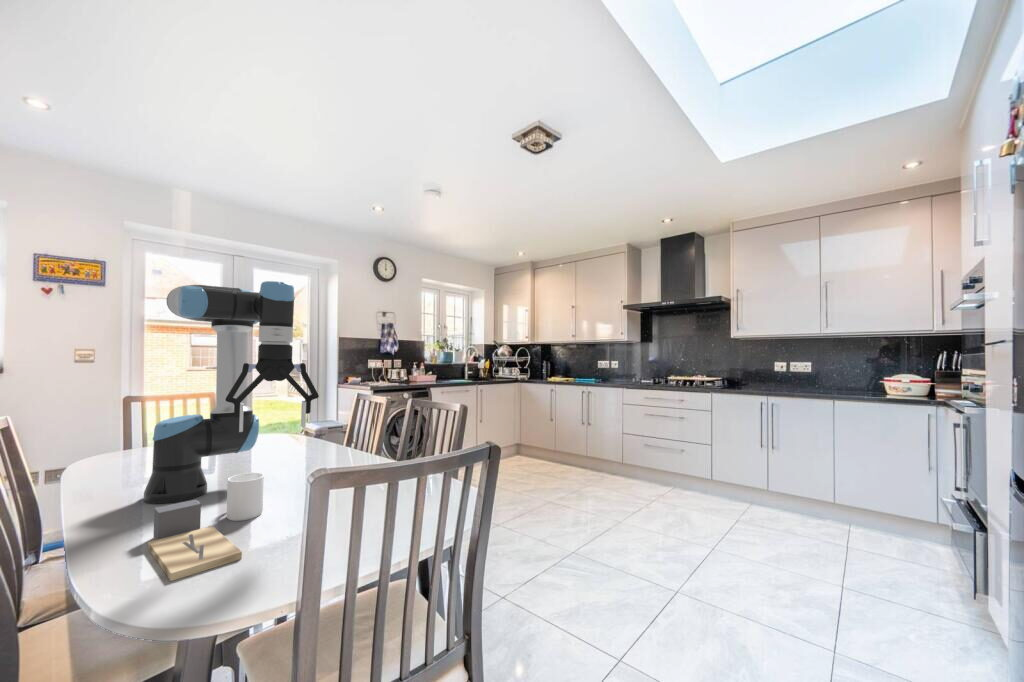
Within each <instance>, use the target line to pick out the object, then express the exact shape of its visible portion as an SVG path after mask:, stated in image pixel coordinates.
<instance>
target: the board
mask: <svg viewBox="0 0 1024 682" xmlns="http://www.w3.org/2000/svg"><path fill="white" fill-rule="evenodd" d="M147 543H148V544H147V545H148V546H147V550H148V551H149V552H150V554H151V555H152V556H153V558H154V559H155V561H156V562H157V564H158V565H159V566H160V568H161V569H162V570H163V572H164V574H165V575H166V576H167V578H168V580H169V581H170V582H174V581H176V580H179V579H183V578H186V577H188V576H192V575H196V574H198V573H201V572H205V571H207V570H211V569H214V568H217V567H220V566H223V565H228V564H230V563H232V562H237V561H239V560H242V556H243V552H242V550H240V549H239V548H238V547H237V546H236V545H235V543H232V541H230V540H229V539H228V538H227V537H226V536H225V535H224V534H222V533H221V532H220V531H219V530H217V528H215V527H214V526H213V525H210V526H206V527H203V528H200V529H198V530H194V531H190V532H186V533H182V534H178V535H174V536H170V537H166V538H162V539H159V540H155V539H154V540H151V541H148V542H147Z"/></svg>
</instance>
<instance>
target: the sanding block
mask: <svg viewBox="0 0 1024 682" xmlns="http://www.w3.org/2000/svg"><path fill="white" fill-rule="evenodd" d="M153 511H154V512H153V513H154V514H153V515H154V516H153V517H154V518H153V540H154V541H155V540H159V539H162V538H166V537H170V536H174V535H178V534H182V533H186V532H190V531H194V530H198V529H201V518H202V517H201V511H202V503H201V502H200V501H198V500H197V499H190V500H185V501H180V502H177V503H172V504H168V505H163V506H157V507H155V508H154V510H153Z"/></svg>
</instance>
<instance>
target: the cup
mask: <svg viewBox="0 0 1024 682" xmlns="http://www.w3.org/2000/svg"><path fill="white" fill-rule="evenodd" d="M264 478H265V475H264V474H263V473H261V472H246V473H239V474H235V475H231V476H230V477H228V478H227V484H226V486H227V489H226V490H227V491H226V519H228V520H229V521H233V522H238V521H246V520H247V521H248V520H251V519H254V518H257V517H259V516H261V515H262V513H263V510H264V488H265V486H264V483H265V481H264Z"/></svg>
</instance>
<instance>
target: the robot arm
mask: <svg viewBox="0 0 1024 682" xmlns="http://www.w3.org/2000/svg"><path fill="white" fill-rule="evenodd" d="M294 287H295V286H294V285H293V284H291V283H289V282H285V281H275V280H274V281H273V280H271V281H270V280H268V281H267V280H265V281H263V282H261V284H260V289H259V291H258V292H256V291H255V292H254V291H252V290H251V289H245V288H239V287H228V286H226V287H225V286H216V285H206V284H189V285H188V284H187V285H181V286H178V287H175V288H173V289H171V290H170V291H169V293H168V294H167V296H166V306H167V308H168V310H169V311H170V312H171V313H172V314H174V315H175V316H177V317H180V318H182V319H187V320H191V321H195V322H207V323H208V322H209V323H211V329H212V330H213V331H214V332H215V333H216V379H215V380H216V386H215V387H216V389H215V391H216V392H215V395H216V396H215V408H213V410H211V412H210V414H209V418H204V416H203V415H202V414H191V415H190V414H189V415H181V416H175V417H171V418H167V419H163V420H162V421H159V422H158V423H156V425H154V431H153V437H152V441H153V450H152V469H151V470H152V472H151V475H150V477H149V480H148V482H147V484H146V486H145V489H144V492H143V499H142V500H143V502H145V503H147V504H169V503H176V502H177V503H179V502H184V501H189V500H193V499H194V498H197V497H200V496H202V495H203V496H204V495H205V494H206V493H207V492H208V481H207V479H206V477H205V473H204V470H203V468H202V458H204V457H212V456H213V457H214V456H219V455H220V456H221V455H227V454H238V453H241V452H247V451H250V450H252V449H253V448H254V447H255V445H256V442H257V441H258V437H259V431H260V422H259V421H260V419H259V416H258V415H256V414H254V413H253V408H251V407H250V406H249V405H248V395H250V393H252V391H254V390H255V388H256V387H258V386H259V384H260V383H262V382H263V381H266V382H274V381H277V382H282V381H285V380H286V381H288V383H289V384H290V385H291V386H292V387H293V388H294V390H296V391H297V393H298V394H300V395H301V397H302V398H303V399H304V400H301V413H300V414H301V415H300V416H301V417H300V426H301V428H306V425H307V424H306V421H307V414H308V415H309V414H310V413H311V412H312V411H311V408H312V407H311V406H312V401H313V400H315V399H318V398H320V395H319V394H318V391H317V389H316V387H315V386H314V384H313V382H312V380H311V378H310V375H309V374H308V372H307V365H306V363H304V362H300V363H294V362H293V349H294V348H293V346H292V345H291V343H293V341H294V340H293V339H294V315H295V314H294V312H295V309H294V308H295V299H296V297H295V291H294V290H295V288H294ZM256 324H259V326H258V342H259V343H260V344H259V345H258V347H257V350H258V351H257V362H256V364H254V363H249V362H248V361H249V359H248V358H249V357H248V352H249V349H248V347H249V346H248V344H249V343H248V342H249V335H248V334H249V333H250V332H251V331H252V330H254V325H256ZM254 369H255V370H256V371H257V373H258V374H259V375H258V376H257V377H256V378H255V379H254V380H253V381H252V382H251V383H250V384H249V385H248V379H249V378H248V376H249V375H248V373H251V372H253V370H254ZM294 369H295V370H296V371H297V372H299V373H300V374H301V377H302V379H303V381H304V382H305V384H306V387H307V388H308V391H309V392H310V394H308V393H307V392H306V391H305V390H304V389H303V387H302V386H301V385H300V384H299V383H298V382H297V381H296V379H294V378H293V376H291V373H292V372H293V370H294Z"/></svg>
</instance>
